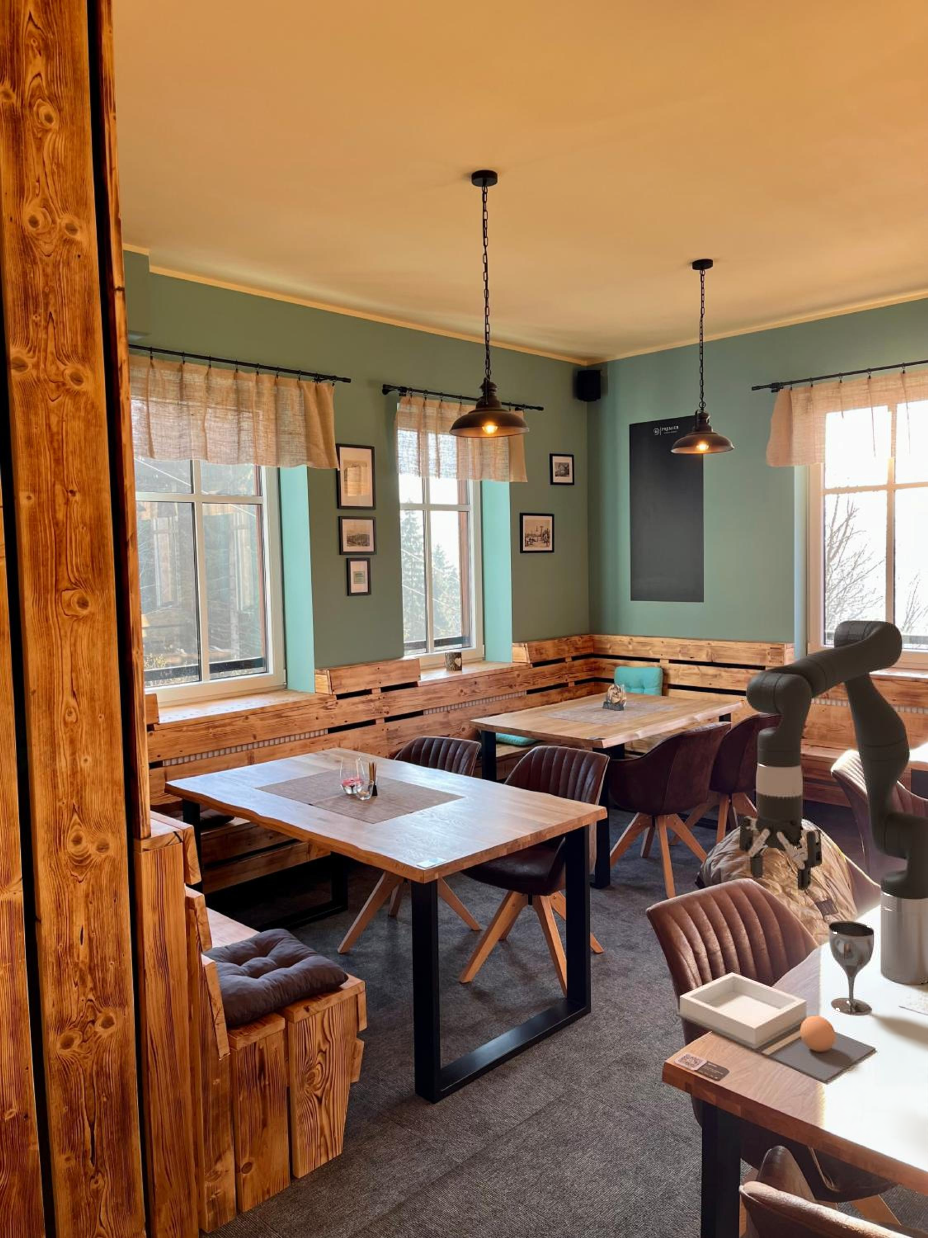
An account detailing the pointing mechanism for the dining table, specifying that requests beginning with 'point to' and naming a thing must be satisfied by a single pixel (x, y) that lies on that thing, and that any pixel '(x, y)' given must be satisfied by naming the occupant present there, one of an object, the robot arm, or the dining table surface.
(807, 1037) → the ball
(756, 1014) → the tray
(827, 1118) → the dining table surface
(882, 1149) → the dining table surface
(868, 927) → the wine glass
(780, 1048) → the mat
